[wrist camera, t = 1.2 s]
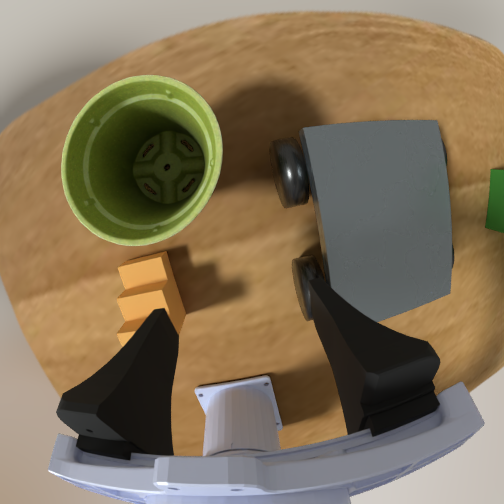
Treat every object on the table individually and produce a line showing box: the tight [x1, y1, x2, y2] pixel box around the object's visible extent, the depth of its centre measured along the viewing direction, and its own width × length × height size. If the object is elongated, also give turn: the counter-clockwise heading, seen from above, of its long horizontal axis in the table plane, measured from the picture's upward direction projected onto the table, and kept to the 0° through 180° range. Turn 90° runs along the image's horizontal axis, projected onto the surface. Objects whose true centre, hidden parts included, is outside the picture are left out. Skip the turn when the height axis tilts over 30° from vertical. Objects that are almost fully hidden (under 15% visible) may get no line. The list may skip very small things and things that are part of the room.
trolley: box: [270, 120, 454, 322], centre depth 20 cm, size 14×14×6 cm
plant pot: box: [61, 75, 223, 246], centre depth 17 cm, size 9×9×9 cm
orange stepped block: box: [117, 251, 186, 347], centre depth 20 cm, size 6×4×6 cm, turn 12°
